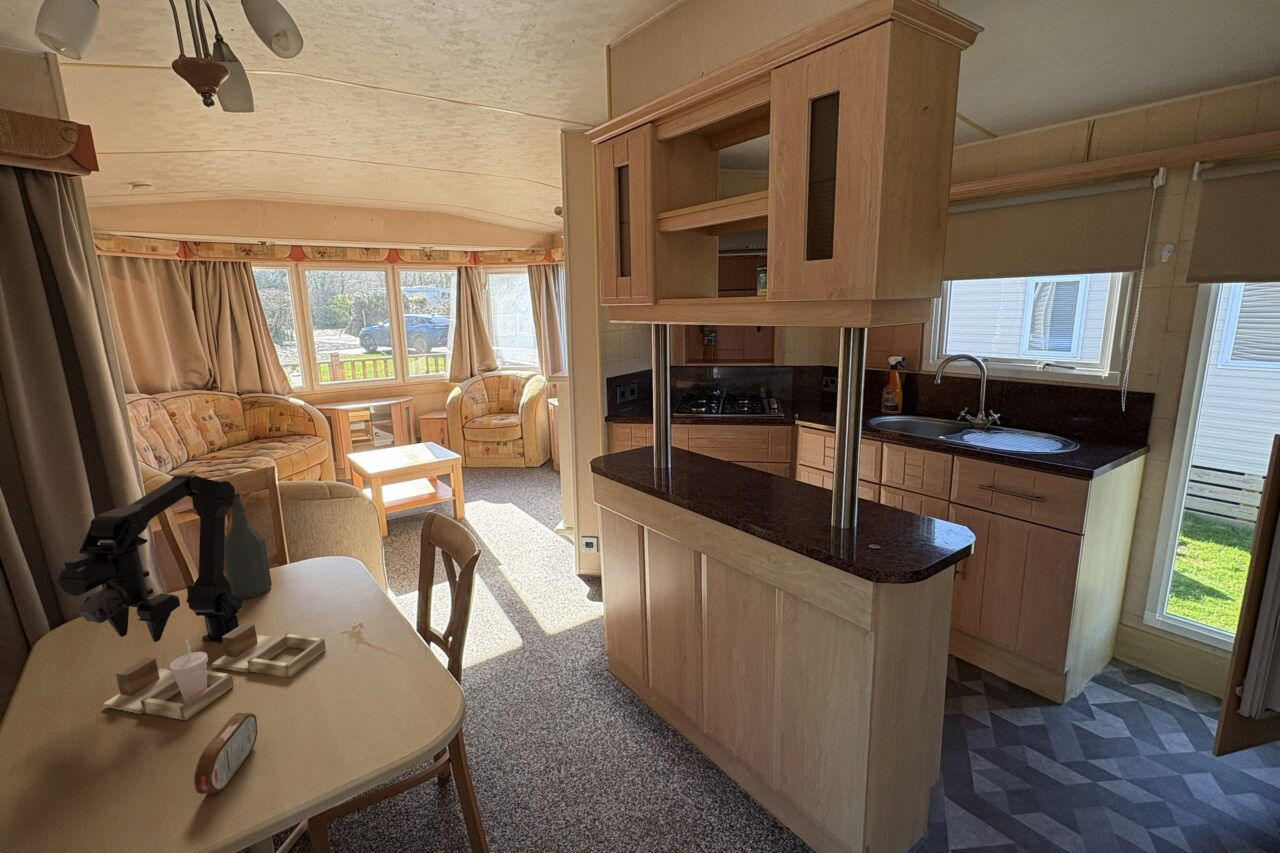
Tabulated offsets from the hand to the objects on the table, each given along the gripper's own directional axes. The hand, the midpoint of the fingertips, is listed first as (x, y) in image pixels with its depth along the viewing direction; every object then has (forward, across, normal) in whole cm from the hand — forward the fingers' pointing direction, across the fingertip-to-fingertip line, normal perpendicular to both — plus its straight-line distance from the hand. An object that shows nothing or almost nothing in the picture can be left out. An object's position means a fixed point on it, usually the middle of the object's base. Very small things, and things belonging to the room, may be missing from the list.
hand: (140, 638), depth 128 cm
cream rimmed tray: (+12, +8, -2) cm, 14 cm away
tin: (+12, +38, -15) cm, 43 cm away
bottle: (+12, -15, +40) cm, 45 cm away
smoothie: (+12, +14, -2) cm, 19 cm away
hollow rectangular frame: (+12, +17, +14) cm, 25 cm away
